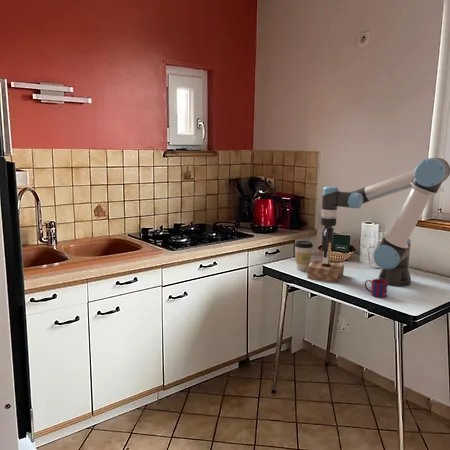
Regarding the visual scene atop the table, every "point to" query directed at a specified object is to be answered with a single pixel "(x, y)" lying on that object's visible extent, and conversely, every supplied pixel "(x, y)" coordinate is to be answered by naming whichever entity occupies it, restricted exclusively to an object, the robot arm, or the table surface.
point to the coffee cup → (303, 254)
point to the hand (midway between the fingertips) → (326, 262)
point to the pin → (328, 256)
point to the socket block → (325, 271)
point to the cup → (378, 288)
